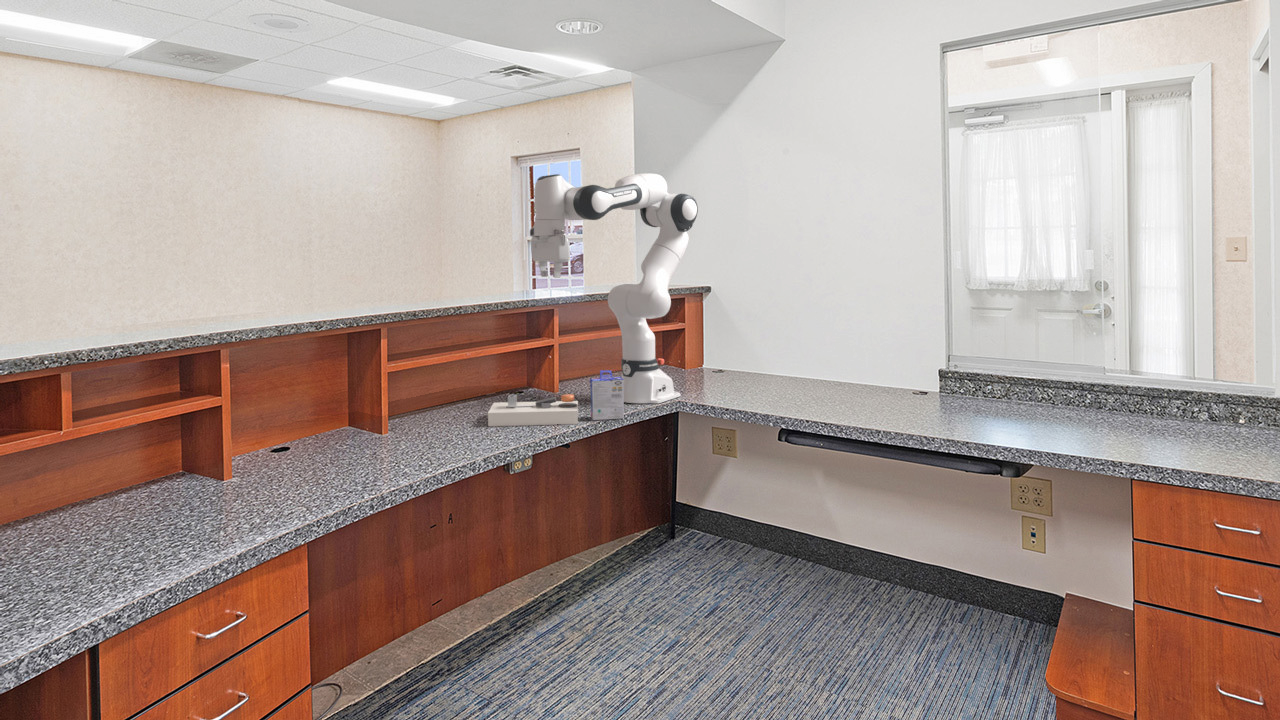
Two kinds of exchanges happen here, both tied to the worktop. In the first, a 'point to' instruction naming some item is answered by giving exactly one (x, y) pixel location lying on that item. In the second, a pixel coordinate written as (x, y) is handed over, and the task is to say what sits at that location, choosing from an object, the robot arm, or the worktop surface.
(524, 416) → the control panel
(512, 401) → the slider knob
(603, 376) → the ink cartridge box
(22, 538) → the worktop surface
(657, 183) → the robot arm
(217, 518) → the worktop surface
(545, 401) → the rocker switch
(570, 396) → the push button
